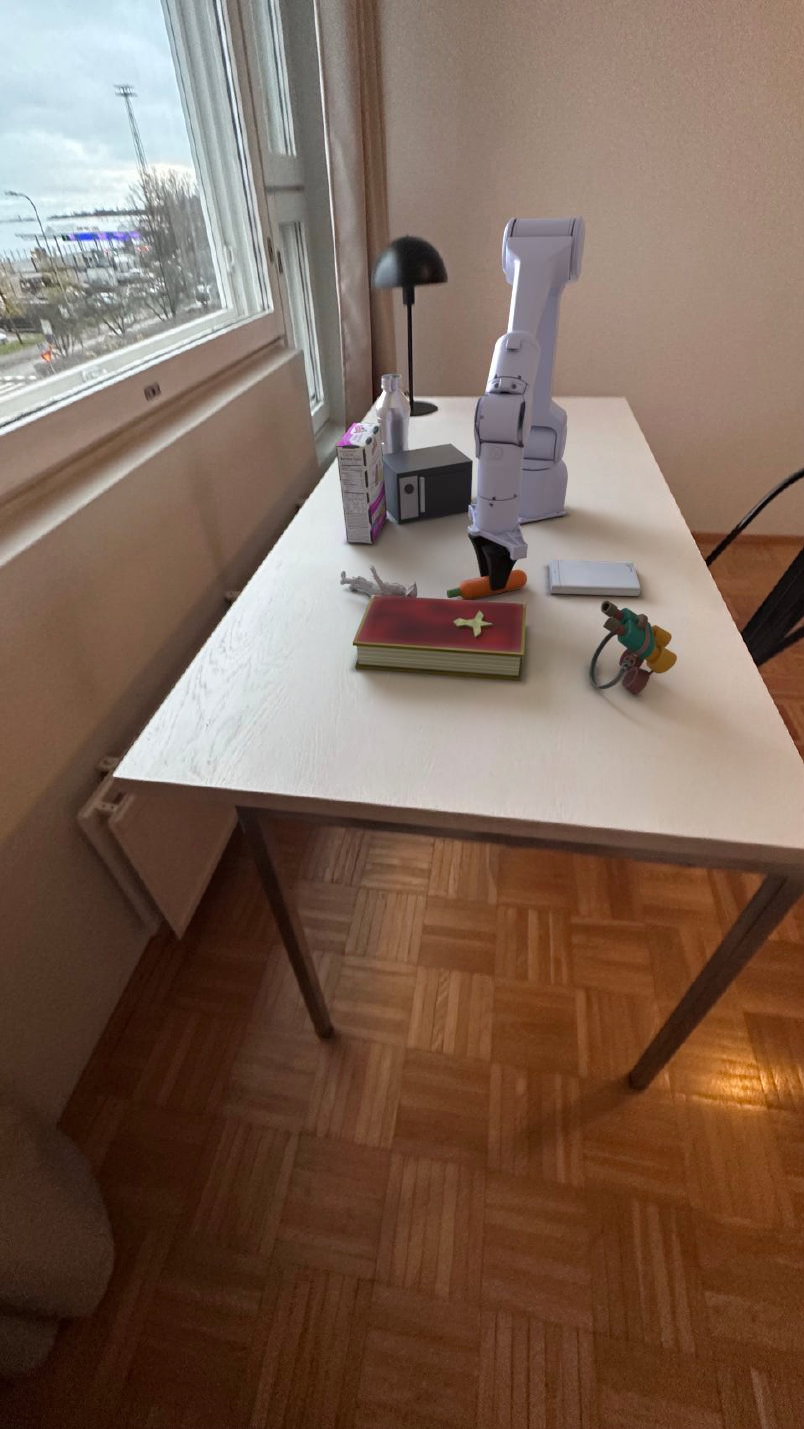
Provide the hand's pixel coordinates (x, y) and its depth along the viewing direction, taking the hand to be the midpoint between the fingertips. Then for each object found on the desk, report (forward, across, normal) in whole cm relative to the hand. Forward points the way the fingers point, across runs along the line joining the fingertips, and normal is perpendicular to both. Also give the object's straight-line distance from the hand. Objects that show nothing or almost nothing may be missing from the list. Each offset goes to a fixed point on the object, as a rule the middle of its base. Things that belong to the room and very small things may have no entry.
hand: (492, 583), depth 92 cm
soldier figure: (+2, -5, -16) cm, 17 cm away
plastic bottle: (+2, -44, 0) cm, 44 cm away
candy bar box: (+2, -28, -11) cm, 30 cm away
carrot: (+2, 0, 0) cm, 2 cm away
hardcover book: (+2, +10, -12) cm, 16 cm away
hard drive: (+2, +3, +15) cm, 15 cm away
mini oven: (+2, -33, +2) cm, 33 cm away
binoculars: (+2, +25, +6) cm, 26 cm away
